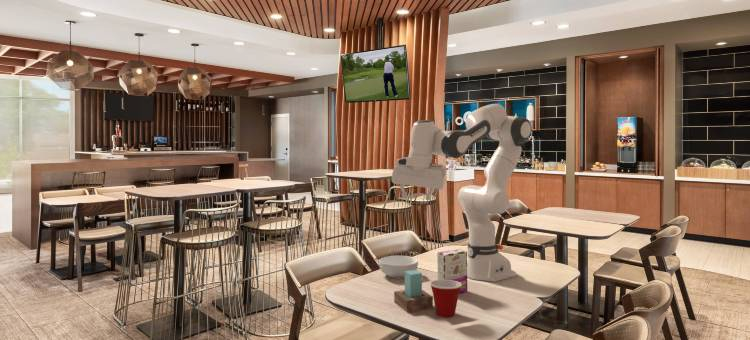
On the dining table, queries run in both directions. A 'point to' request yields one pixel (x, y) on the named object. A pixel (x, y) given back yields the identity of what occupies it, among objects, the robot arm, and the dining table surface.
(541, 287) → the dining table surface
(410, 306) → the pocket block
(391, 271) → the cereal bowl
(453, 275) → the candy bar box
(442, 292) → the plastic cup
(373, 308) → the dining table surface
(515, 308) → the dining table surface
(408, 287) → the teal peg
